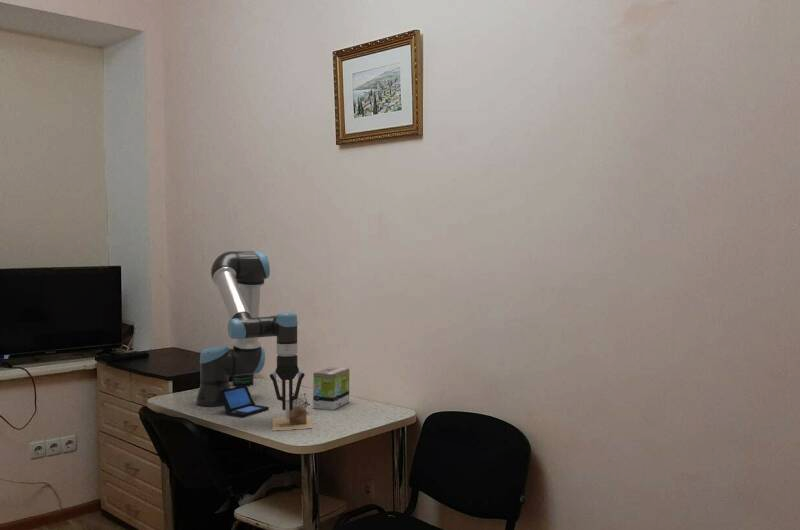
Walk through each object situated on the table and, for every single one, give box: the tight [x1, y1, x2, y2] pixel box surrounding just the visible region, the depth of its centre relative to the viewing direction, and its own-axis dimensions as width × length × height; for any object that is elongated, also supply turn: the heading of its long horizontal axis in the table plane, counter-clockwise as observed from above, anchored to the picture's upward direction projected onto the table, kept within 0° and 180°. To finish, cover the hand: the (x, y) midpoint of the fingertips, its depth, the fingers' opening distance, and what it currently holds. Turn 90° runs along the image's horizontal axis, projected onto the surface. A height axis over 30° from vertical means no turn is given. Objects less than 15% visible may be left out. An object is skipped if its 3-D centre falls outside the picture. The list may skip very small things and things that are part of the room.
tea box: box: [312, 366, 350, 411], centre depth 271 cm, size 15×10×15 cm, turn 161°
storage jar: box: [232, 374, 254, 387], centre depth 315 cm, size 10×10×15 cm
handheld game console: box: [219, 385, 270, 418], centre depth 261 cm, size 16×13×9 cm
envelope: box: [271, 415, 313, 432], centre depth 242 cm, size 14×18×1 cm
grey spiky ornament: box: [293, 392, 311, 409], centre depth 257 cm, size 9×8×10 cm
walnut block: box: [289, 407, 307, 425], centre depth 242 cm, size 6×6×5 cm
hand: (287, 418), depth 241 cm, fingers closed
